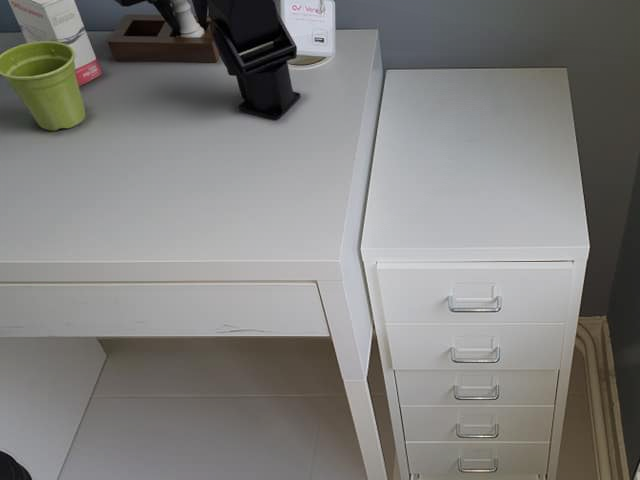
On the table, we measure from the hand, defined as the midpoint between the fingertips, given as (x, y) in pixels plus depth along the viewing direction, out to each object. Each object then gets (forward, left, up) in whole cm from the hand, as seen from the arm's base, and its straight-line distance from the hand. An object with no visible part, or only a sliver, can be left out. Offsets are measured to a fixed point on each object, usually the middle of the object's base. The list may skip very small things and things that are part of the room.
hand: (190, 31), depth 110 cm
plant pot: (+5, +23, -3) cm, 24 cm away
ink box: (+12, +13, -3) cm, 18 cm away
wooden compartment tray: (+3, +1, -3) cm, 4 cm away
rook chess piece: (0, 0, -2) cm, 2 cm away
